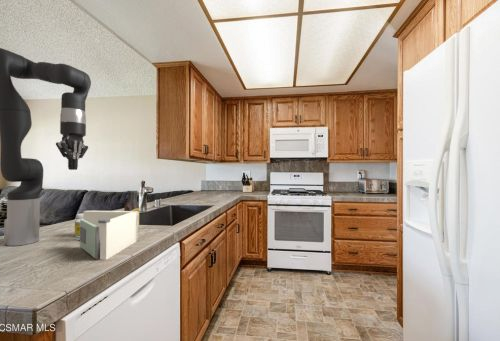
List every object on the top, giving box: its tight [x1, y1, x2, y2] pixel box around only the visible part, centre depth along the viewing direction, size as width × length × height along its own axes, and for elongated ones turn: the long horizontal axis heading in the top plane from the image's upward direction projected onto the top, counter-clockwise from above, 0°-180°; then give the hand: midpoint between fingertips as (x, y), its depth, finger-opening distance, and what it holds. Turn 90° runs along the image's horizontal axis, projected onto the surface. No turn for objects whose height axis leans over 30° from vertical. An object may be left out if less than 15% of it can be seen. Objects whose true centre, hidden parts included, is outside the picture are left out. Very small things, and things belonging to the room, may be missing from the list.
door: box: [79, 219, 100, 259], centre depth 81 cm, size 18×1×10 cm, turn 49°
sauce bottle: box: [123, 189, 140, 232], centre depth 104 cm, size 6×6×20 cm
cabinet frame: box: [83, 210, 139, 261], centre depth 86 cm, size 22×22×13 cm
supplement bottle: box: [74, 213, 83, 239], centre depth 102 cm, size 5×5×10 cm
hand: (72, 169), depth 86 cm, fingers closed
